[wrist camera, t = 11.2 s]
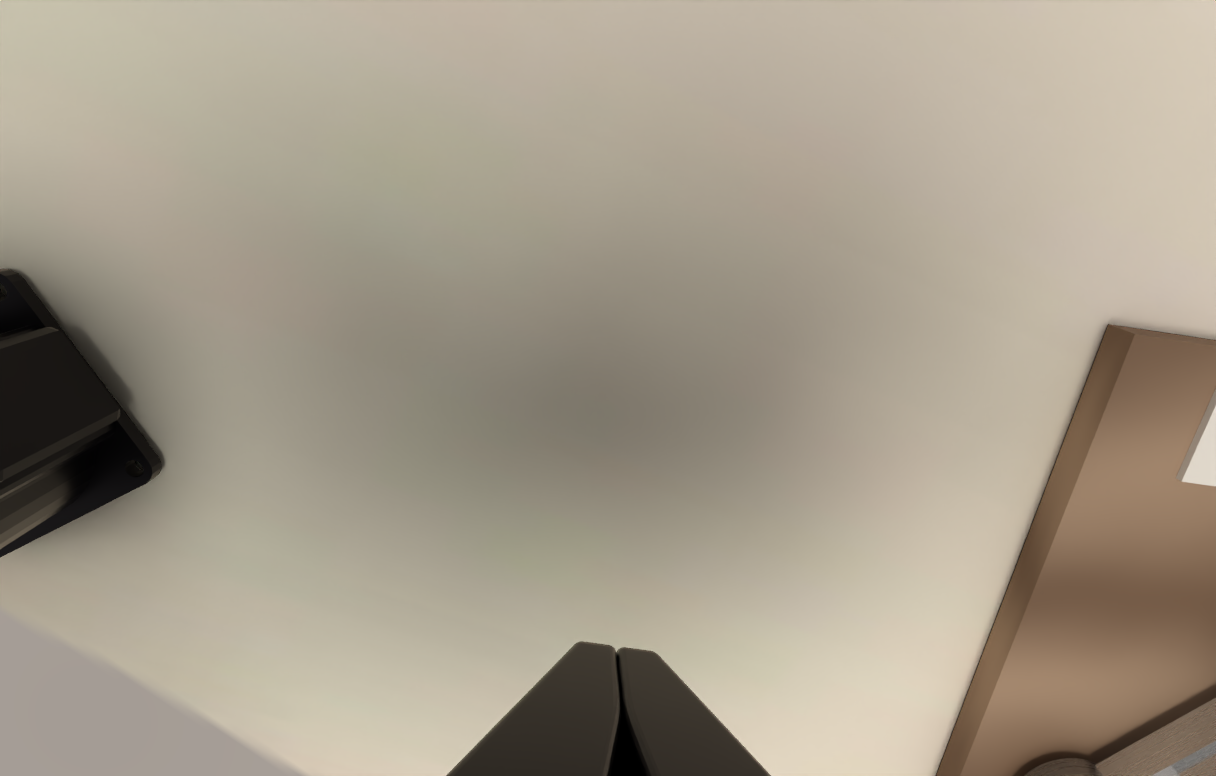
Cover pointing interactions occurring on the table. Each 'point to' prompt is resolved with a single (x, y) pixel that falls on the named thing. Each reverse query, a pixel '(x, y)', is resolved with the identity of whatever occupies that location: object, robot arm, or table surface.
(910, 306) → the table surface
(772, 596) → the table surface
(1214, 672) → the board
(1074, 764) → the lever
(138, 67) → the table surface
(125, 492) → the robot arm
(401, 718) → the table surface
